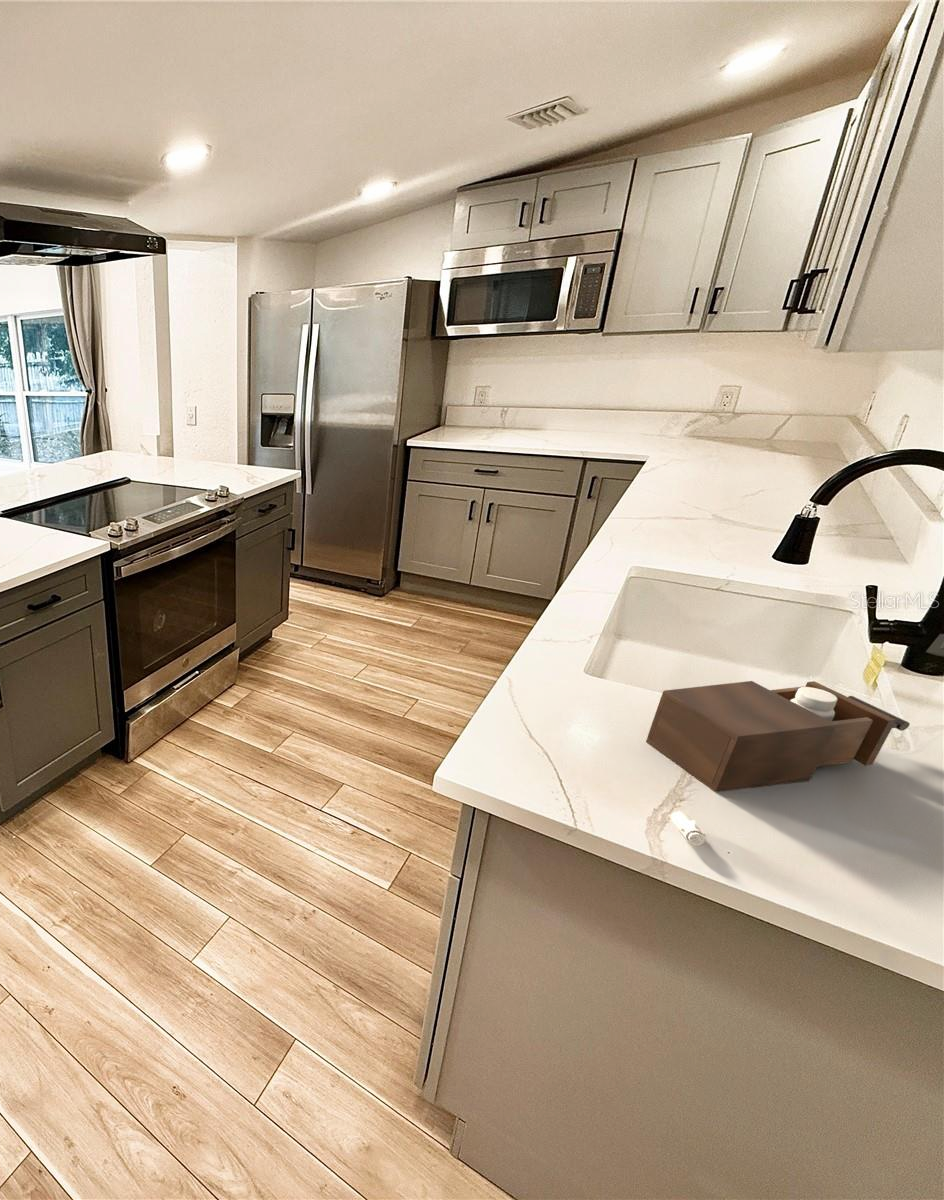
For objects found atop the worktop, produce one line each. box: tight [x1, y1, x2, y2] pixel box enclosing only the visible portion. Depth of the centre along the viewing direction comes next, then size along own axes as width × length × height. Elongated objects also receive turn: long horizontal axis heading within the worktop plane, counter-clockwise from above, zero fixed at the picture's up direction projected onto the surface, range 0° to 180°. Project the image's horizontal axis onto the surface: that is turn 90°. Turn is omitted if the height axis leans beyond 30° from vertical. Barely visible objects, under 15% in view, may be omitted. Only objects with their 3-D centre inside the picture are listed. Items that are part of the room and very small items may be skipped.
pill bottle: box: [790, 686, 837, 721], centre depth 90 cm, size 5×5×8 cm
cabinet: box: [645, 680, 837, 793], centre depth 90 cm, size 15×12×10 cm
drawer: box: [769, 680, 910, 767], centre depth 91 cm, size 19×10×8 cm, turn 96°
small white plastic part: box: [670, 811, 707, 846], centre depth 79 cm, size 4×6×3 cm, turn 134°
